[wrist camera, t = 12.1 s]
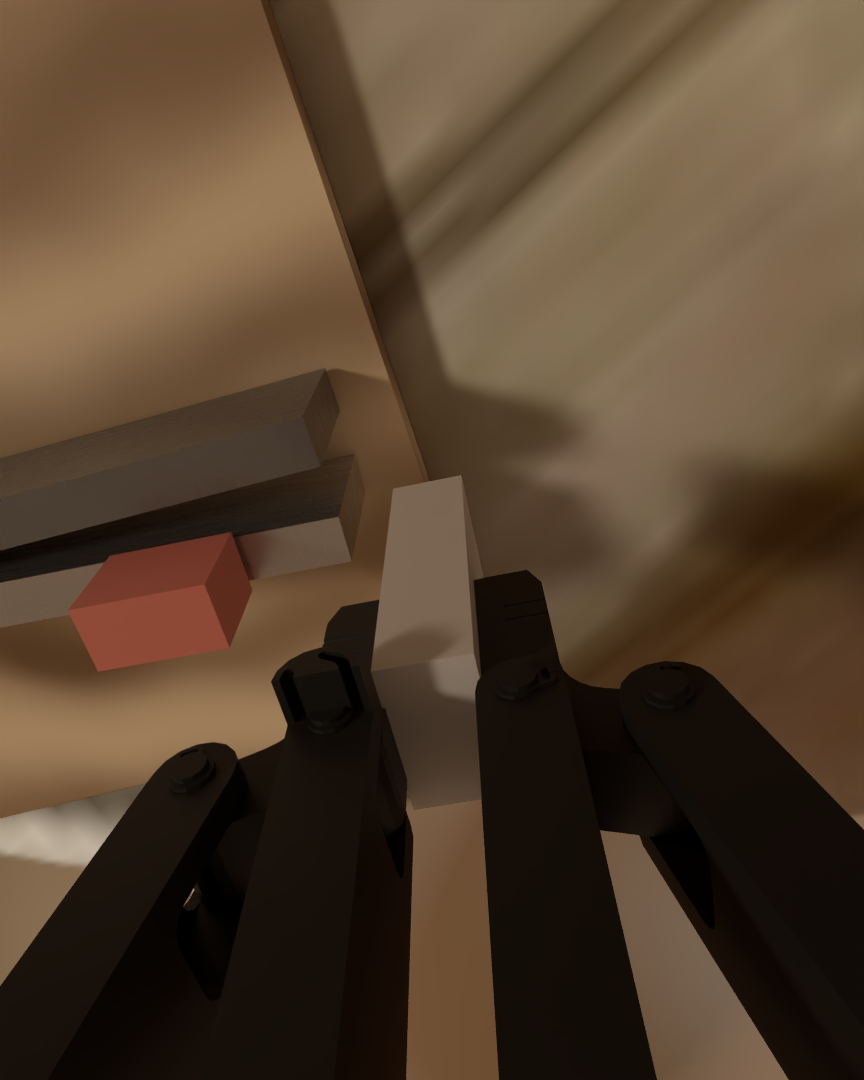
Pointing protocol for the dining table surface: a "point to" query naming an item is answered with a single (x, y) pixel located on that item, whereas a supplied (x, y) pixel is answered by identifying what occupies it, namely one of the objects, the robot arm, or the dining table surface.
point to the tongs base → (197, 537)
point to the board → (171, 342)
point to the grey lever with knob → (167, 459)
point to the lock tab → (163, 602)
